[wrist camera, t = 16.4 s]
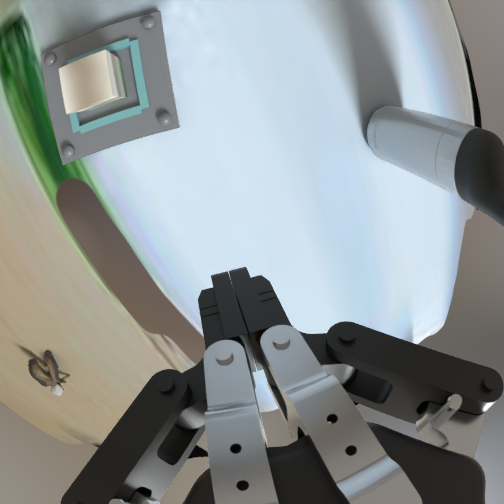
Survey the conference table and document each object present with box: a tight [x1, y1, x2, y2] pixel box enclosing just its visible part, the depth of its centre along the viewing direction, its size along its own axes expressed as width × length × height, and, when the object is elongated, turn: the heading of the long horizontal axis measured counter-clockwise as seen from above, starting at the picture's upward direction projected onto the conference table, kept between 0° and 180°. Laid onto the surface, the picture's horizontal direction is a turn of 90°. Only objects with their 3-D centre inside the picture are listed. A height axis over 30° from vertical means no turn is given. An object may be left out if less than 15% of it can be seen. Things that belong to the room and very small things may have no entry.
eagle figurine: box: [28, 351, 70, 396], centre depth 44 cm, size 8×7×9 cm
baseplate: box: [41, 11, 180, 165], centre depth 25 cm, size 16×16×2 cm
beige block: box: [59, 50, 128, 114], centre depth 22 cm, size 5×5×8 cm
